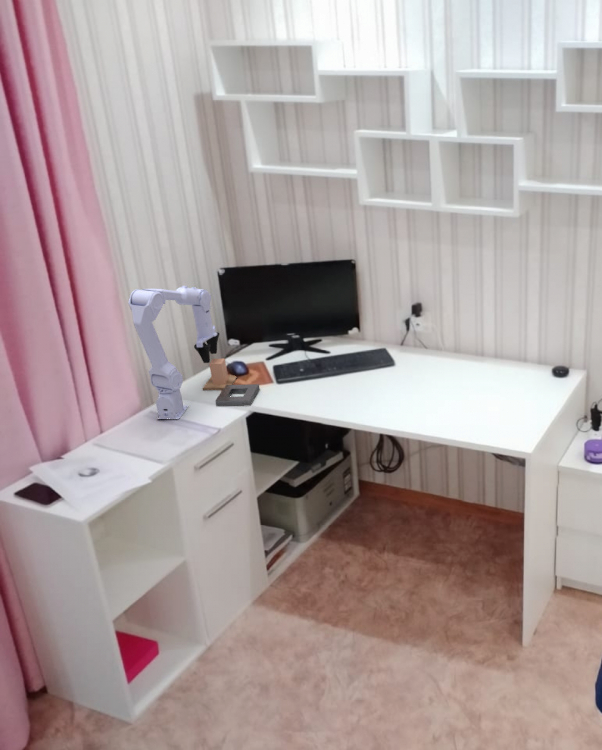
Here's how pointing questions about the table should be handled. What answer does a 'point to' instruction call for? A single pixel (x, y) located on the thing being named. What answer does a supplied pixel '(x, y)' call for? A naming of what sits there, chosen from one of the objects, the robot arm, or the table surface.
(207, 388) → the walnut pad
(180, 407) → the robot arm
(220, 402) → the socket plate
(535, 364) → the table surface
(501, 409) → the table surface
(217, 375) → the pinkish brown rectangular block
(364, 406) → the table surface
